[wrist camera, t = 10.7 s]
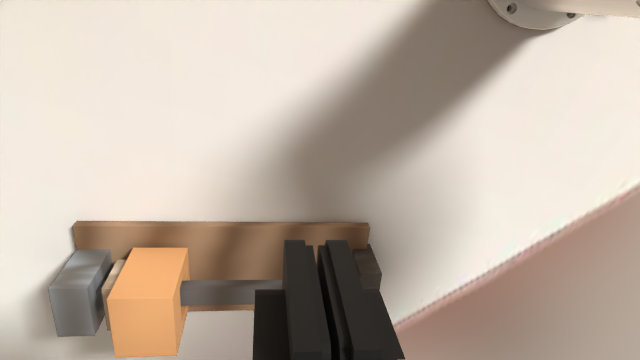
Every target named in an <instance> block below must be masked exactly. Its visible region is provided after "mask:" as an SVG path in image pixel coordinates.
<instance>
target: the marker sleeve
mask: <svg viewBox="0 0 640 360" xmlns="http://www.w3.org/2000/svg"><path fill="white" fill-rule="evenodd" d="M189 280H190V278H189V260H188V248H133V249H132V251H131V253H130V255H129V257H128V259H127V261H126V263H125V265H124V267H123V269H122V271H121V273H120V275H119V276H118V278H117V280H116V282H115V284H114V286H113V288H112V290H111V292H110V294H109V296H108V298H107V305H108V312H109V318H110V325H111V332H112V339H113V346H114V353H115V358H118V357H149V356H177V353H178V349H179V345H180V341H181V336H182V332H183V328H184V324H185V320H186V316H187V311H188V307H189V306H181V302H180V286H181V282H182V281H189Z"/></svg>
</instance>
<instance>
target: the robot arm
mask: <svg viewBox="0 0 640 360" xmlns="http://www.w3.org/2000/svg"><path fill="white" fill-rule="evenodd" d="M488 2H489V4H490V5H491V6H492V8H493V9H494V10H495V11H496V12H497V14H498V15H500V16H501V17H502V18H504V19H505V20H506V21H508V22H510V23H512V24H514V25H517V26H519V27H524V28H528V29H539V30H546V29H553V28H558V27H561V26H564V25H566V24H569V23H571V22H573V21H575V20H577V19H578V18H580V17H582V16H583V15H585V14H593V15H607V16H620V17H633V18H640V0H488ZM508 6H509V9H508V11H507V7H508ZM253 360H405V357H404V354H403V352H402V349H401V347H400V344H399V341H398V339H397V336H396V333H395V331H394V328H393V325H392V323H391V320H390V317H389V315H388V312H387V309H386V307H385V304H384V301H383V299H382V296H381V293H380V291H379V289H378V288H362V285H361V282H360V279H359V276H358V273H357V270H356V267H355V264H354V261H353V257H352V254H351V251H350V248H349V245H348V242H347V240H326V242H325V245H318V250H317V263H316V260H315V255H314V249H313V245H306V244H305V240H284V254H283V277H282V289H255V308H254V336H253Z"/></svg>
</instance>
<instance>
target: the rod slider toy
mask: <svg viewBox="0 0 640 360" xmlns="http://www.w3.org/2000/svg"><path fill="white" fill-rule="evenodd" d="M369 229H370V227H369V225H368V223H303V222H155V221H77V222H76V223H75V224H74V225H73V231H74V237H75V242H76V248H77V250H76V251H75V252H74V254H73V255H72V257H71V258H70V259H69V261H68V262H67V264H66V265H65V266H64V268H63V269H62V270H61V272H60V273H59V275H58V276H57V277H56V279H55V280H54V281H53V283H52V284H51V286H50V287H49V288H48V291H49V296H50V301H51V306H52V311H53V315H54V320H55V325H56V330H57V335H58V337H64V336H95V334H96V332H97V330H98V328H99V326H100V324H101V322H102V320H103V318H104V316H106V323H107V330H111V325H110V318H109V312H108V305H107V298H108V296H109V294H110V292H111V290H112V288H113V286H114V284H115V282H116V280H117V278H118V276H119V275H120V273H121V271H122V269H123V267H124V265H125V263H126V261H127V259H128V257H129V255H130V253H131V251H132V249H133V248H188V260H189V278H190V280H189V281H182V282H181V286H180V302H181V306H189V307H188V311H225V310H254V308H255V289H282V277H283V254H284V240H305V244H306V245H313V249H314V255H315V260H316V263H317V250H318V245H325V242H326V240H347V242H348V245H349V248H350V251H351V254H352V257H353V261H354V264H355V267H356V270H357V273H358V276H359V279H360V282H361V285H362V288H378V289H380V282H381V276H382V273H381V271H380V268H379V266H378V263H377V261H376V258H375V256H374V254H373V251H372V249H371V246H370V244H368V237H369Z"/></svg>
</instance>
